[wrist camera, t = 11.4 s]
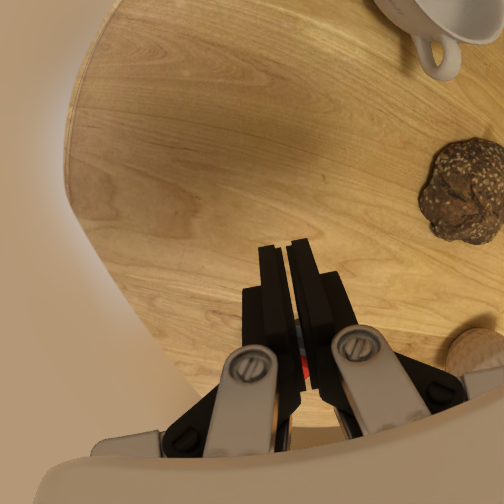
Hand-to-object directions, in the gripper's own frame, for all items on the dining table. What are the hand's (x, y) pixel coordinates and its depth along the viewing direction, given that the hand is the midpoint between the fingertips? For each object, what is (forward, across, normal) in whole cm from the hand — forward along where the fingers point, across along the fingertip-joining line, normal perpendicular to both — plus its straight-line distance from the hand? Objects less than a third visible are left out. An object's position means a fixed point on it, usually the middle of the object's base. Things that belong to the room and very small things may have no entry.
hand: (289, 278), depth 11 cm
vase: (+18, -27, +34) cm, 47 cm away
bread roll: (+18, -21, +7) cm, 28 cm away
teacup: (+18, -15, -12) cm, 26 cm away
